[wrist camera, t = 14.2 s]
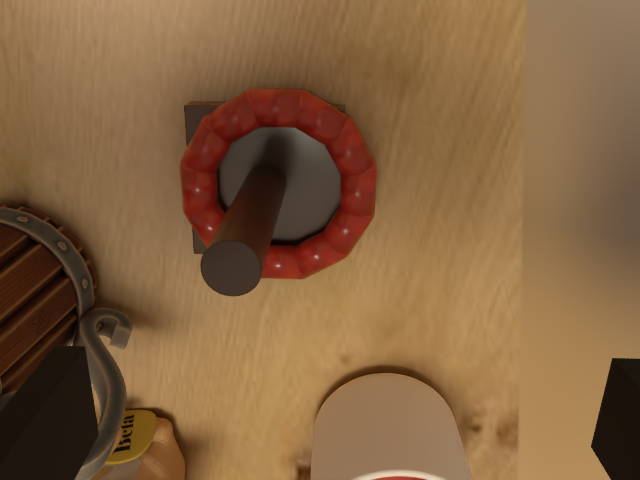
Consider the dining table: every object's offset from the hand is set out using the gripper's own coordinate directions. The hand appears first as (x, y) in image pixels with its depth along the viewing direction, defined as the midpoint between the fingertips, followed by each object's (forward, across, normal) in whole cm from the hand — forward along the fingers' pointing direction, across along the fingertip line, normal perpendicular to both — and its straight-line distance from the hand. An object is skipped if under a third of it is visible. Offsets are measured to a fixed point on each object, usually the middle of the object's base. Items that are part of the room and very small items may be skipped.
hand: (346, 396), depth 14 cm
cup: (+22, +4, -18) cm, 29 cm away
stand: (+22, -4, 0) cm, 22 cm away
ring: (+19, -3, 0) cm, 19 cm away
